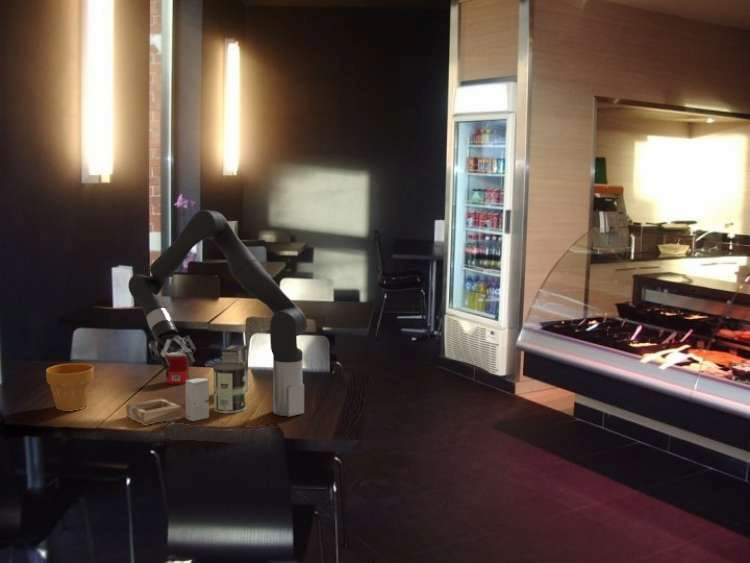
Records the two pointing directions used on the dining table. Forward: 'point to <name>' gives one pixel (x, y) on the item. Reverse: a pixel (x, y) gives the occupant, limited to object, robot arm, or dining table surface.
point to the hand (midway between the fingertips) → (180, 366)
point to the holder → (154, 411)
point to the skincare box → (197, 399)
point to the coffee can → (229, 387)
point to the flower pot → (70, 384)
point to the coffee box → (237, 357)
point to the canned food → (177, 369)
